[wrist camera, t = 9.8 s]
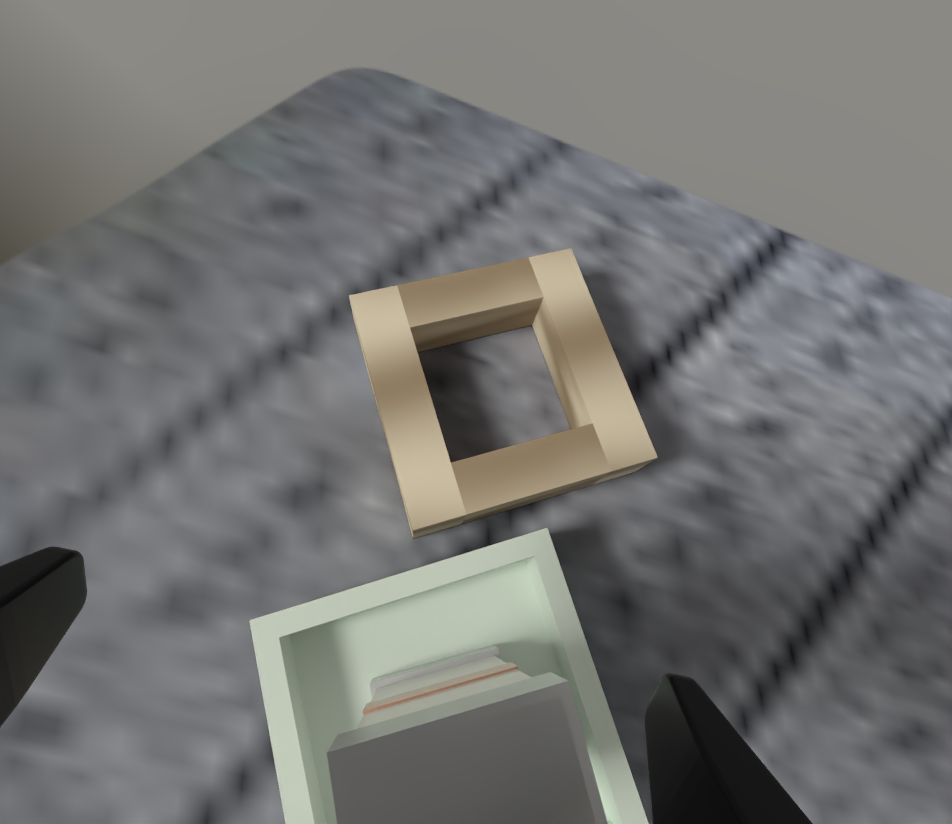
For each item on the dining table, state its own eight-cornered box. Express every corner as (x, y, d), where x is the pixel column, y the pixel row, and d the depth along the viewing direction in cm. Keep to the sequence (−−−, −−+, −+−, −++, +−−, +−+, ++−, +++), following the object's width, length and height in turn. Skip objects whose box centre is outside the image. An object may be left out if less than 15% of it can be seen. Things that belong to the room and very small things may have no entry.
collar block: (634, 472, 24) (658, 457, 22) (413, 538, 22) (412, 530, 20) (557, 279, 27) (570, 248, 25) (355, 324, 25) (348, 295, 23)
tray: (631, 828, 20) (660, 858, 18) (331, 958, 18) (319, 1011, 16) (534, 536, 23) (547, 527, 21) (268, 618, 21) (249, 620, 19)
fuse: (524, 778, 19) (648, 972, 9) (397, 820, 19) (376, 1082, 8) (492, 645, 21) (568, 680, 10) (372, 678, 20) (326, 752, 10)
